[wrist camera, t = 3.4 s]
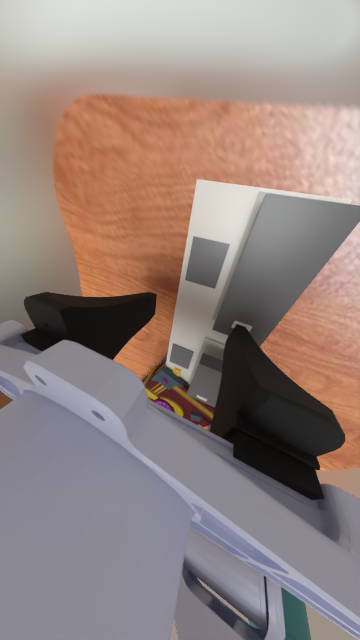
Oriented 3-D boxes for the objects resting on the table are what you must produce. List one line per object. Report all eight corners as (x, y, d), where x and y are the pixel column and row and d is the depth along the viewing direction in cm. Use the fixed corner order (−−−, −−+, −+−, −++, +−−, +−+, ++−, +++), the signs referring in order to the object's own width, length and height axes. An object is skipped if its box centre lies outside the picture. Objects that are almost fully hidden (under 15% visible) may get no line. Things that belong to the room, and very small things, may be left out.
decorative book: (229, 390, 22) (226, 425, 18) (178, 410, 32) (169, 435, 28) (173, 347, 22) (158, 372, 18) (140, 381, 31) (125, 402, 27)
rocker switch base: (323, 208, 9) (356, 198, 6) (221, 377, 21) (218, 398, 18) (207, 191, 11) (195, 177, 8) (172, 356, 22) (163, 373, 20)
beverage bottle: (290, 457, 24) (380, 868, 9) (261, 459, 28) (285, 739, 13) (259, 436, 25) (292, 802, 9) (234, 440, 29) (226, 696, 13)
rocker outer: (352, 209, 6) (372, 207, 5) (258, 336, 11) (259, 347, 10) (264, 196, 7) (267, 192, 6) (214, 321, 12) (211, 330, 11)
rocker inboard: (241, 368, 12) (240, 382, 11) (215, 397, 18) (213, 408, 17) (202, 352, 13) (198, 364, 12) (189, 385, 18) (186, 394, 17)
